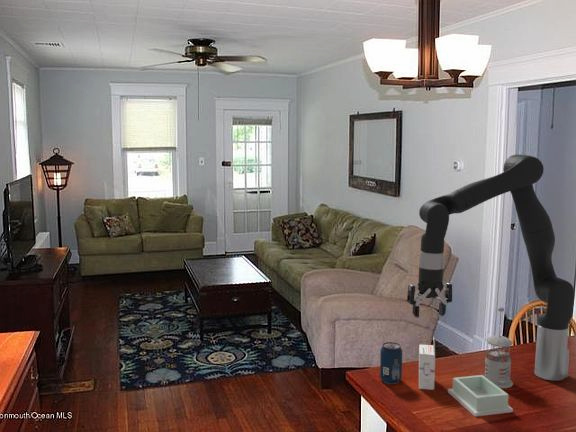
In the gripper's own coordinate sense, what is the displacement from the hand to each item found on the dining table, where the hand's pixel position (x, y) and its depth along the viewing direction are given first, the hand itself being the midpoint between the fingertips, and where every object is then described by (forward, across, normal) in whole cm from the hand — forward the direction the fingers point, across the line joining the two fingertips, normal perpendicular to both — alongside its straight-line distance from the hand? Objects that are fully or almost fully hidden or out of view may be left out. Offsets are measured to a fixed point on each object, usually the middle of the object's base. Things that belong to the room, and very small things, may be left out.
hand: (428, 316), depth 183 cm
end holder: (+22, -10, +15) cm, 29 cm away
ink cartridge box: (+23, 0, 0) cm, 23 cm away
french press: (+22, -24, +3) cm, 33 cm away
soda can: (+23, +10, -5) cm, 26 cm away
